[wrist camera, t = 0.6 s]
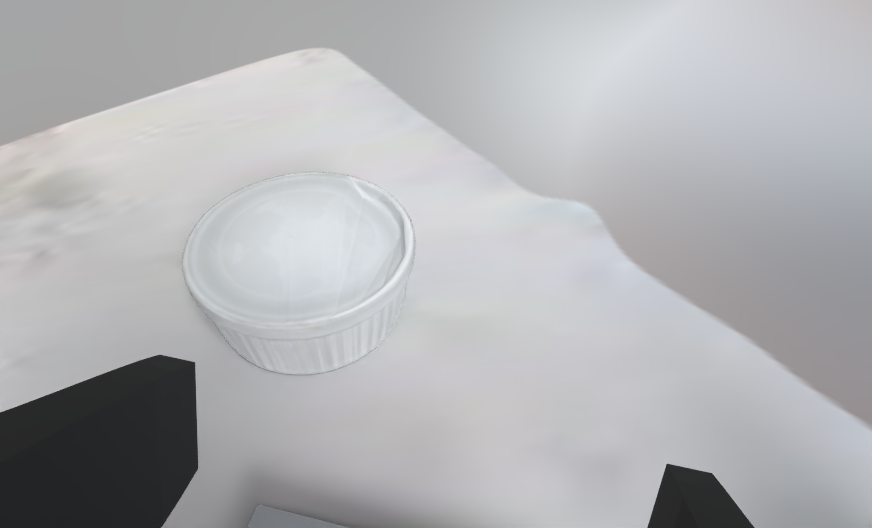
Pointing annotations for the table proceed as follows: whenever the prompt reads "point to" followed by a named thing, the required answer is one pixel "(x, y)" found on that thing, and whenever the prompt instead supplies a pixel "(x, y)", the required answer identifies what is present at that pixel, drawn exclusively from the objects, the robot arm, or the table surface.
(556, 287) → the table surface
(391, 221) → the ramekin
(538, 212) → the table surface
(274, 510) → the grey tray
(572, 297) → the table surface
